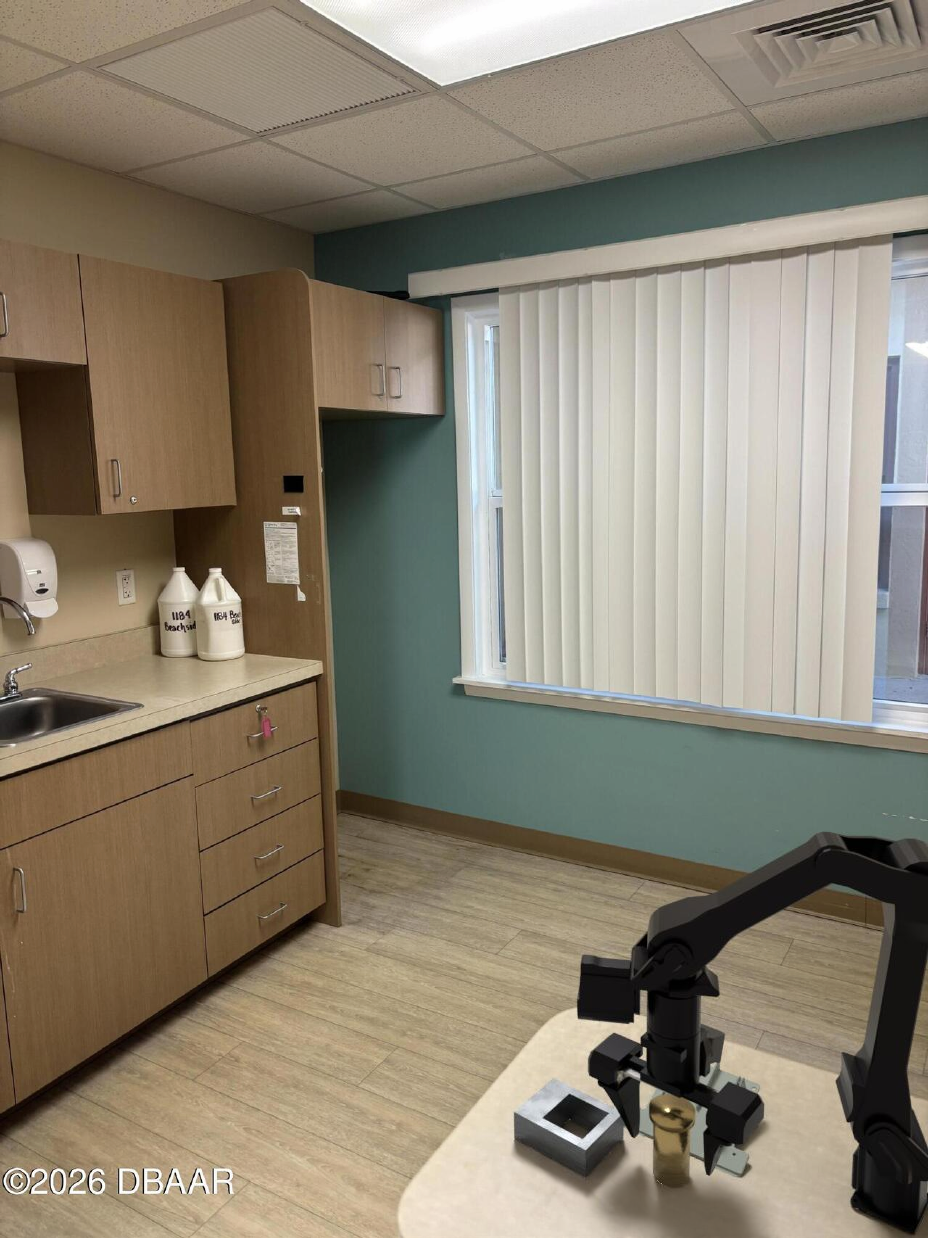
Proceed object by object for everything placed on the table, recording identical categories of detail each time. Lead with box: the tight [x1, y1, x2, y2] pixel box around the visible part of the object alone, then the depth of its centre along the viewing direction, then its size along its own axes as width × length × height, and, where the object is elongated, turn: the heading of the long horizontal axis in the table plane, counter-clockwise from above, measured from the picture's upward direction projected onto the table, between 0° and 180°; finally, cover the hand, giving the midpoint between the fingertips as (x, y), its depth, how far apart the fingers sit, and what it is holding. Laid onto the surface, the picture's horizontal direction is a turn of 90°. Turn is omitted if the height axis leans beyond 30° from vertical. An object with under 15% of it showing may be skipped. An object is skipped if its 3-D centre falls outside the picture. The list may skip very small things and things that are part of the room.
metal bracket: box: [624, 1062, 761, 1178], centre depth 114 cm, size 14×6×15 cm
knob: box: [649, 1094, 696, 1189], centre depth 105 cm, size 5×5×8 cm
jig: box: [513, 1077, 625, 1179], centre depth 111 cm, size 10×8×4 cm
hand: (671, 1154), depth 105 cm, fingers open, 9 cm apart
